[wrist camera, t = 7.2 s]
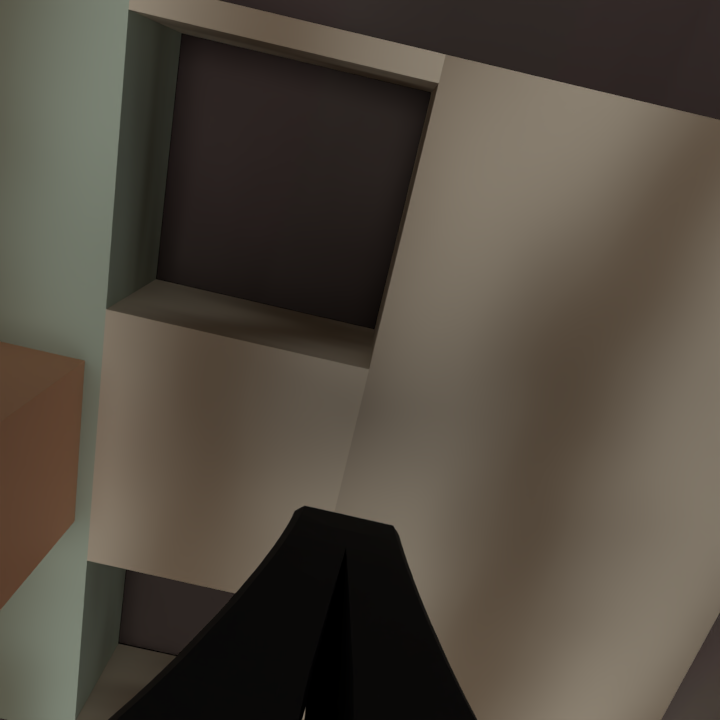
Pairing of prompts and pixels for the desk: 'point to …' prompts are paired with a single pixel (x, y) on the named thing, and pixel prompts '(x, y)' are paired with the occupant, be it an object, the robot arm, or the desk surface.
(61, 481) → the block
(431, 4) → the desk surface
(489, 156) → the trap board
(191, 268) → the desk surface
